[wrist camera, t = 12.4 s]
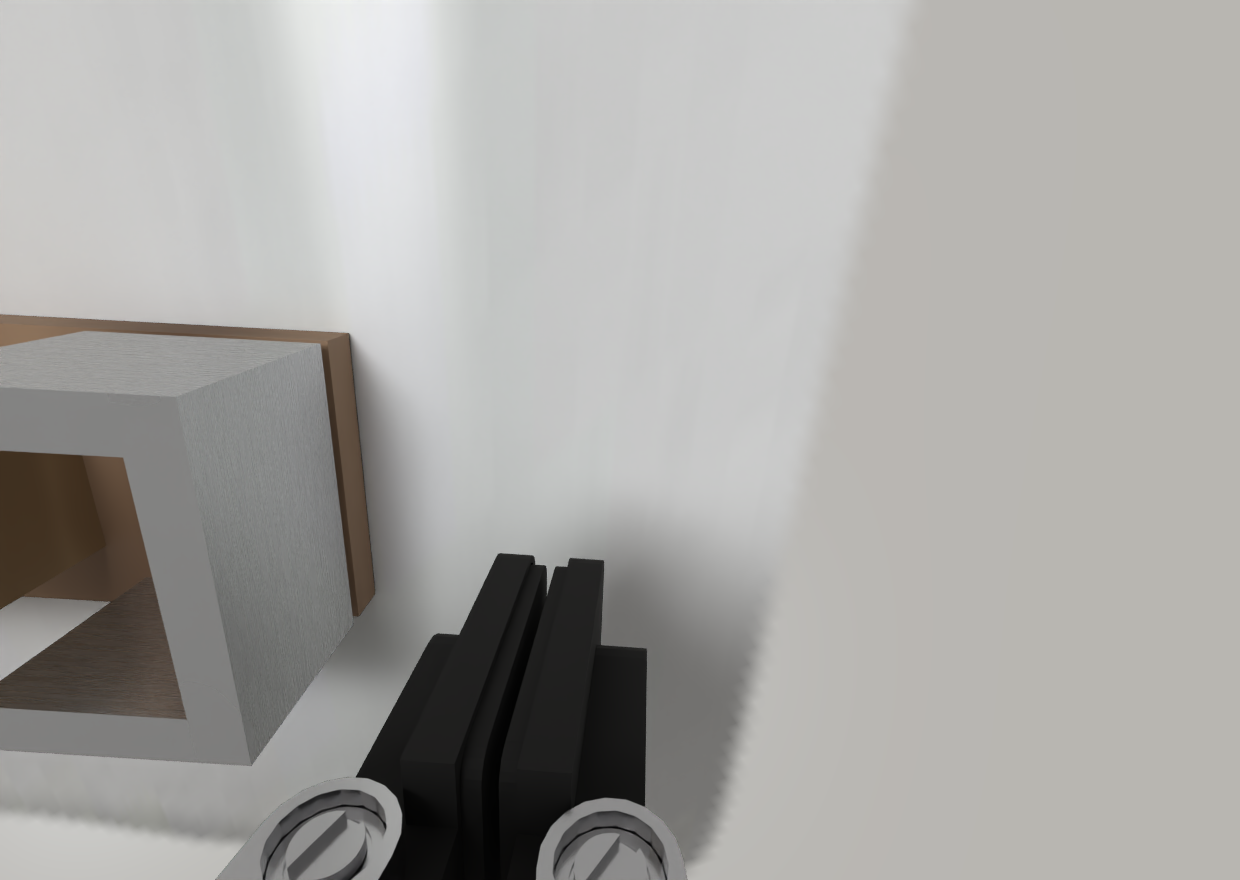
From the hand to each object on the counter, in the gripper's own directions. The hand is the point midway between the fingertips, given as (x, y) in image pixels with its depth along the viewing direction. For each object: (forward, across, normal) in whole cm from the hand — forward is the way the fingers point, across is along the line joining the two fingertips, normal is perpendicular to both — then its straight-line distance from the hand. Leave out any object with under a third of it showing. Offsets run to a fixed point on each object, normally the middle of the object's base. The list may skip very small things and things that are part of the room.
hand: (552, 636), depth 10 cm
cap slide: (+4, +8, 0) cm, 9 cm away
